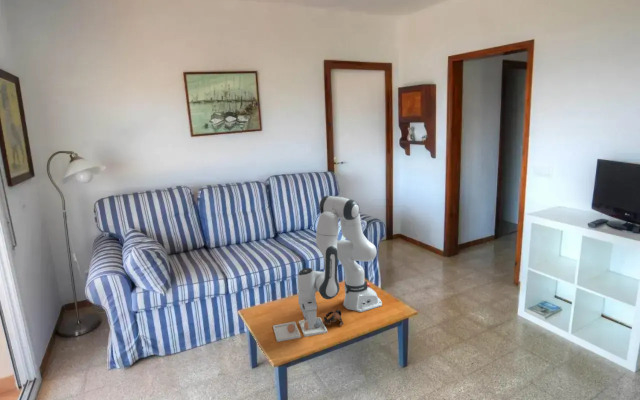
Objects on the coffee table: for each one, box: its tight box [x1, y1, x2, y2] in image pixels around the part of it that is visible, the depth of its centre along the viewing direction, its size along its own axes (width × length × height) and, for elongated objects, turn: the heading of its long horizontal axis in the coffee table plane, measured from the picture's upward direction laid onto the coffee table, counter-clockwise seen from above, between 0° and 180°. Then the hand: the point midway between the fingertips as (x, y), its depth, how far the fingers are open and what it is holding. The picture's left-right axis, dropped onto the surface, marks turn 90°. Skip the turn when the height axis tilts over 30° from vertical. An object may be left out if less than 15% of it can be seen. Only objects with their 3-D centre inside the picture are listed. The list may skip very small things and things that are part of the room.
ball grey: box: [314, 319, 321, 327], centre depth 203 cm, size 4×4×4 cm
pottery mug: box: [323, 309, 344, 327], centre depth 207 cm, size 12×10×8 cm
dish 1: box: [272, 321, 302, 343], centre depth 200 cm, size 12×14×2 cm
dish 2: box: [298, 316, 328, 338], centre depth 203 cm, size 12×14×2 cm
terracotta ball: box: [287, 324, 295, 332], centre depth 200 cm, size 4×4×4 cm
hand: (308, 324), depth 201 cm, fingers open, 8 cm apart
